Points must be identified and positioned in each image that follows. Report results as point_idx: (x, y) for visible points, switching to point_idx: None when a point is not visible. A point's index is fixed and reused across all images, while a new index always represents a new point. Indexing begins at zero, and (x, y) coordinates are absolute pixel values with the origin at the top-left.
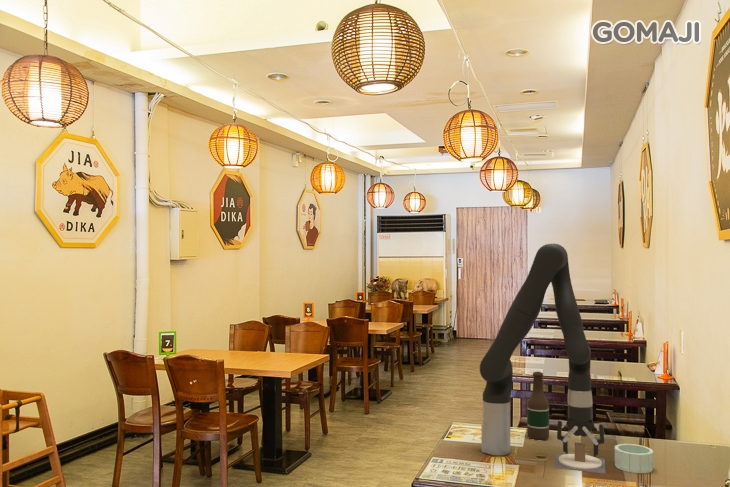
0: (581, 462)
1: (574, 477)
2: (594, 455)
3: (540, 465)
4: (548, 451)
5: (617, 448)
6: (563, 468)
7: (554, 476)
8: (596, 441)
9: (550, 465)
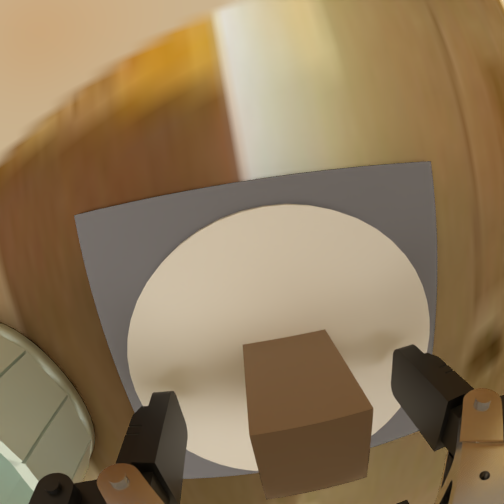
0: (268, 318)
1: (269, 42)
2: (164, 394)
3: (490, 200)
4: None
5: (16, 465)
6: (377, 171)
7: (385, 22)
8: (111, 495)
9: (452, 229)
